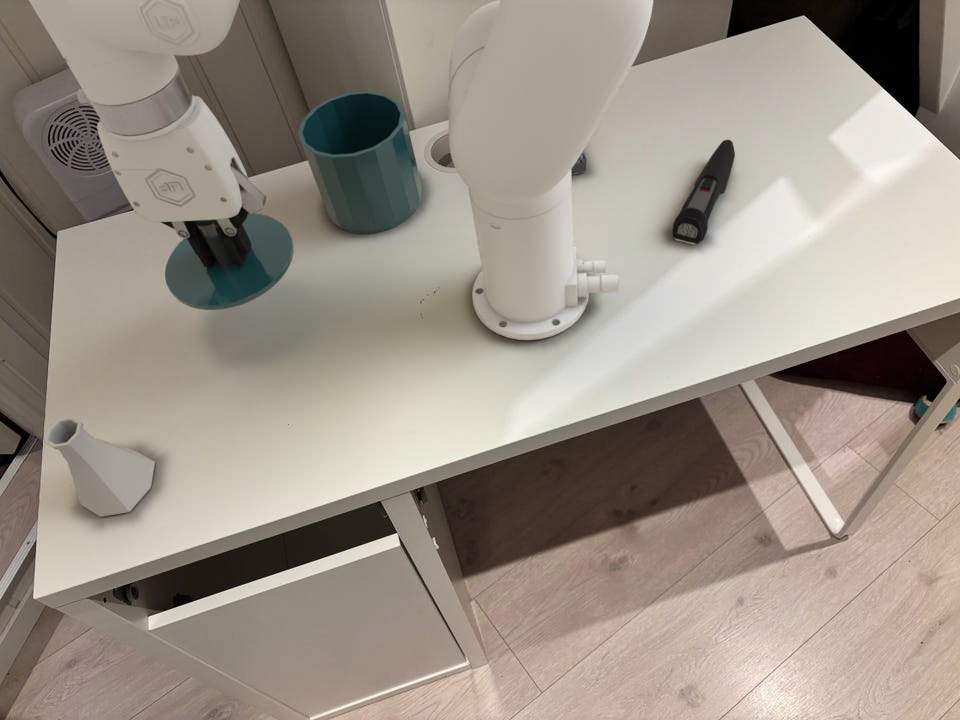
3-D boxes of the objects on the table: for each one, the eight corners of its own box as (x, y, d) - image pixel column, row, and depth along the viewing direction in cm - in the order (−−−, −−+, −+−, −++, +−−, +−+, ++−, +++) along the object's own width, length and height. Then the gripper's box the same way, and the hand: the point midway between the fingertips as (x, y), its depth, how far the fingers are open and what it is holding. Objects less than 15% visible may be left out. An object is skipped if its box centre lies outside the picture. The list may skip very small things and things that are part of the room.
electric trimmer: (741, 163, 90) (745, 141, 88) (701, 247, 82) (705, 225, 80) (710, 156, 91) (713, 135, 89) (668, 238, 84) (671, 217, 81)
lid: (306, 218, 80) (287, 168, 75) (280, 312, 72) (256, 263, 67) (191, 224, 82) (163, 175, 76) (152, 316, 74) (119, 269, 68)
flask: (134, 523, 70) (76, 472, 62) (69, 512, 72) (4, 462, 64) (168, 456, 74) (117, 401, 66) (105, 448, 76) (48, 392, 68)
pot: (426, 165, 97) (409, 87, 88) (416, 231, 89) (396, 153, 80) (336, 171, 98) (310, 95, 89) (319, 236, 91) (289, 160, 82)
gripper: (34, 132, 60) (142, 286, 74) (224, 120, 58) (297, 281, 73) (69, 79, 64) (165, 234, 79) (248, 66, 62) (311, 227, 77)
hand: (227, 255), depth 76 cm, fingers closed on lid, 2 cm apart
